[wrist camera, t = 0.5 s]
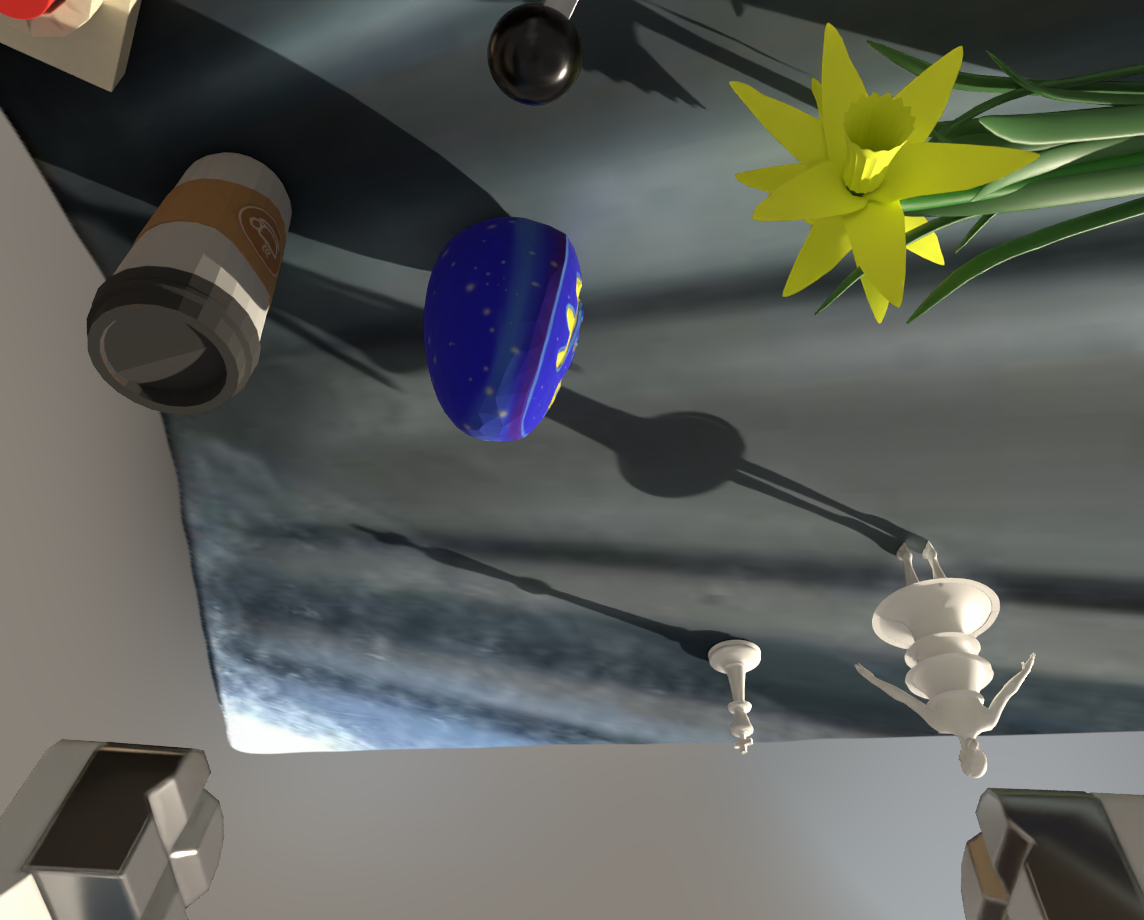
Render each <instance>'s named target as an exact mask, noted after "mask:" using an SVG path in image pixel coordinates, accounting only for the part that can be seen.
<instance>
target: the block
mask: <svg viewBox="0 0 1144 920" xmlns="http://www.w3.org/2000/svg"><path fill="white" fill-rule="evenodd" d="M140 5H141V0H55V1H54V2H53V3H52V4H51V5H50V7H49V8H48V9H47V10H46V11H45V12H44V13H43V14H42V15H40V16H39V17H36V18H33V19H27V20H23V19H15V18H12V17H9V16H6V15H4V14H2V13H0V43H3V44H5V45H7V46H9V47H11V48H14V49H16V50H18V51H20V52H23V53H25V54H27V55H29V56H31V57H34V58H36V59H38V60H40V61H43V62H45V63H47V64H49V65H51V66H54V67H56V68H58V69H60V70H63V71H65V72H67V73H69V74H71V75H74V76H76V77H78V78H80V79H83V80H85V81H87V82H89V83H91V84H94V85H96V86H98V87H100V88H103V89H105V90H107V91H109V92H112V91H113V90H114V88H115V87H116V85H117V84H118V83H119V81H120V80H121V78H122V77H123V76H124V74H125V71H126V67H127V63H128V58H129V54H130V49H131V45H132V40H133V36H134V31H135V27H136V23H137V18H138V14H139V9H140Z"/></svg>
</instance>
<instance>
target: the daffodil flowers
mask: <svg viewBox="0 0 1144 920" xmlns="http://www.w3.org/2000/svg"><path fill="white" fill-rule="evenodd" d="M867 43H869V44H870V45H871V46H872V47H874V48H875V49H876V50H878V51H879V52H880V53H882V54H883V55H885V56H886V57H887V58H889V59H890V60H892V61H893V62H895V63H896V64H898V65H899V66H901V67H903V68H905V69H906V70H908V71H910V72H912V73H914V74H915V75H917V76H918V77H916V78H915V79H914V80H913V81H912V82H910V83H909V84H908V85H907V86H906V87H905V88H903V89H902V90H901V91H900V92H899V93H898V94H897V95H896V96H895V97H893V98H892V96H891V94H890V92H888V93H887V94H885V95H884V96H882V97H880V96H879V95H878V94H877V92H876V91H875V92H874V93H873V94H872V95H871V96H870V97H869V96H868V94H867V91H866V89H865V87H864V85H863V82H862V80H861V78H860V77H859V75H858V73H857V71H856V69H855V67H854V66H853V64H852V62H851V60H850V58H849V56H848V53H847V51H846V48H845V45H844V42H843V40H842V37H841V36H840V35H839V33H838V32H837V30H836V29H835V27H833V26H832V25H831V24H830V23H827V25H826V28H825V36H824V47H823V58H822V85H821V84H820V83H819V82H818V81H817V80H816V79H815V78H812V81H811V86H812V92H813V94H814V97H815V99H816V101H817V106H818V111H819V117H820V120H819V119H817V118H815V117H813V116H811V115H809V114H807V113H804V112H802V111H800V110H798V109H796V108H794V107H792V106H790V105H787V104H785V103H782V102H780V101H778V100H775V99H773V98H770V97H768V96H765V95H763V94H761V93H760V92H758V91H757V90H755V89H754V88H752V87H751V86H749V85H748V84H744V83H741V82H738V81H730V82H729V84H730V85H731V87H732V89H733V90H734V91H735V92H736V94H737V95H738V96H739V97H740V98H741V99H742V101H743V102H744V103H745V104H746V106H747V107H748V108H749V109H750V111H751V112H752V113H753V114H754V115H755V117H756V118H757V119H758V120H759V121H760V122H761V123H762V124H763V125H764V127H765V128H766V129H767V130H768V131H769V132H770V133H771V134H772V136H773V137H775V138H776V139H777V140H778V141H779V142H780V143H781V144H782V145H783V146H784V147H785V148H786V149H787V150H788V151H789V152H790V153H791V154H792V155H793V156H794V157H796V158H797V159H798V160H799V161H800V162H801V163H802V164H789V165H781V166H774V167H767V168H762V169H757V170H752V171H747V172H742V173H738V174H736V175H735V178H736V179H737V180H738V181H740V182H742V183H743V184H745V185H747V186H749V187H753V188H756V189H760V190H763V191H765V192H768V193H770V194H771V195H770V196H768V197H767V198H766V199H765V200H764V201H763V202H761V203H760V204H759V205H758V206H757V207H756V209H755V211H754V212H753V216H752V219H753V220H758V221H791V220H806V222H805V223H808V224H811V230H810V231H811V232H810V233H809V235H808V237H807V239H806V241H805V243H804V245H803V247H802V249H801V251H800V253H799V255H798V257H797V259H796V261H795V263H794V266H793V268H792V270H791V273H790V275H789V278H788V280H787V283H786V285H785V288H784V291H783V297H786V296H790V295H792V294H795V293H797V292H799V291H801V290H802V289H804V288H805V287H807V286H808V285H810V284H811V283H813V282H815V281H816V280H817V279H819V278H820V277H822V276H823V275H824V274H826V273H827V272H829V271H830V270H831V269H833V268H834V267H835V265H836V264H837V263H838V262H839V261H840V260H841V259H842V258H843V257H844V256H845V255H846V254H847V253H848V252H849V251H850V250H851V249H852V251H853V255H854V258H855V262H856V265H857V269H856V270H854V271H853V272H852V273H851V274H850V275H849V276H848V277H847V278H846V279H844V281H843V282H842V283H841V284H840V285H839V286H838V287H837V289H836V290H835V291H834V292H833V293H832V294H831V295H830V297H829V298H828V299H827V300H826V301H825V302H824V304H823V305H822V306H821V307H820V308H819V309H818V311H817V312H816V313H815V315H816V314H818V313H819V312H820V311H822V310H823V309H824V308H826V307H827V306H828V305H829V304H831V303H832V302H833V301H834V300H835V299H836V298H837V297H838V296H840V295H841V294H842V293H843V292H844V291H845V290H846V289H847V288H848V287H849V286H851V285H852V284H853V283H854V282H855V281H857V280H858V279H859V278H861V281H862V284H863V287H864V290H865V293H866V296H867V299H868V301H869V304H870V306H871V309H872V311H873V313H874V316H875V318H876V320H877V321H878V323H879V324H880V323H881V322H882V320H883V318H884V315H885V313H886V310H887V307H888V304H889V302H890V303H892V304H893V305H895V306H896V307H898V308H899V307H900V306H901V303H902V299H903V291H904V282H905V270H906V248H907V249H908V250H910V251H912V252H914V253H916V254H918V255H919V256H921V257H923V258H925V259H928V260H930V261H932V262H935V263H937V264H940V265H944V260H943V256H942V253H941V250H940V246H939V242H938V239H937V236H936V234H935V233H934V232H935V231H937V230H939V229H942V228H945V227H947V226H950V225H952V224H955V223H958V222H961V221H964V220H967V219H971V218H974V217H978V216H982V215H983V216H982V217H981V218H980V220H979V221H978V222H977V223H976V224H975V225H974V226H973V228H972V229H971V230H970V231H969V233H968V234H967V235H966V237H965V238H964V240H963V241H962V243H961V244H960V245H959V247H958V248H957V250H956V251H955V253H956V252H958V251H959V250H960V249H961V248H962V247H963V246H964V245H965V244H966V243H967V242H968V241H969V240H970V239H971V238H972V237H973V236H974V235H975V234H976V233H977V232H978V231H979V230H980V229H981V228H982V227H983V226H984V225H985V224H986V223H987V222H988V221H989V220H990V219H992V218H993V217H994V216H995V215H996V214H997V213H1006V212H1015V211H1024V210H1032V209H1040V208H1047V207H1054V206H1062V205H1068V204H1075V203H1082V202H1089V201H1097V200H1104V199H1111V198H1118V197H1126V196H1133V195H1140V194H1144V82H1140V81H1104V80H1109V79H1115V78H1120V77H1125V76H1130V75H1135V74H1140V73H1144V64H1139V65H1133V66H1128V67H1123V68H1118V69H1113V70H1108V71H1103V72H1097V73H1092V74H1087V75H1082V76H1077V77H1071V78H1065V79H1059V80H1038V79H1025V78H1023V77H1022V76H1021V75H1019V74H1018V73H1016V72H1015V71H1013V70H1012V69H1011V68H1009V67H1008V66H1007V65H1006V64H1004V63H1003V62H1002V61H1001V60H1000V59H998V58H997V57H996V56H994V55H993V54H992V53H990V52H989V51H987V50H985V49H984V50H985V51H986V52H987V53H988V54H989V56H990V57H991V58H992V59H993V60H994V61H995V62H996V63H997V65H998V66H999V67H1000V68H1001V69H1002V70H1003V71H1004V72H1005V73H1006V74H1007V75H1009V76H1010V77H998V76H985V75H976V74H970V73H964V72H960V71H959V70H960V67H961V62H962V57H963V47H962V46H959V47H957V48H955V49H953V50H952V51H951V52H949V53H948V54H946V55H945V56H944V57H942V58H941V59H939V60H938V61H937V62H935V63H934V64H930V63H927V62H925V61H922V60H920V59H917V58H914V57H912V56H909V55H907V54H904V53H902V52H899V51H897V50H894V49H892V48H889V47H887V46H885V45H882V44H879V43H875V42H872V41H868V40H867ZM952 89H959V90H966V91H977V92H992V93H1005V94H1002V95H1000V96H997V97H994V98H992V99H990V100H988V101H986V102H984V103H982V104H980V105H978V106H976V107H974V108H973V109H971V110H969V111H968V112H966V113H965V114H963V115H961V116H960V117H958V118H957V119H955V120H953V121H944V122H938V120H939V119H940V117H941V115H942V114H943V112H944V109H945V106H946V104H947V101H948V99H949V96H950V94H951V91H952ZM1027 95H1041V96H1043V97H1046V98H1050V99H1055V100H1060V101H1068V102H1079V103H1089V104H1098V105H1111V106H1112V107H1102V108H1091V109H1081V110H1071V111H1060V112H1048V113H1036V114H1019V115H990V116H983V117H980V118H974V117H975V116H977V115H979V114H981V113H983V112H985V111H987V110H989V109H991V108H993V107H995V106H997V105H1000V104H1002V103H1005V102H1008V101H1010V100H1013V99H1017V98H1020V97H1023V96H1027ZM972 118H974V119H972ZM928 137H932V138H931V139H930V140H929V141H928V142H925V141H926V140H927V138H928ZM1142 214H1144V197H1142V198H1139V199H1135V200H1132V201H1129V202H1126V203H1122V204H1119V205H1116V206H1113V207H1109V208H1106V209H1103V210H1100V211H1096V212H1093V213H1090V214H1086V215H1083V216H1080V217H1077V218H1073V219H1070V220H1067V221H1064V222H1061V223H1058V224H1055V225H1052V226H1049V227H1046V228H1044V229H1041V230H1038V231H1036V232H1033V233H1031V234H1028V235H1025V236H1022V237H1020V238H1017V239H1014V240H1011V241H1009V242H1006V243H1003V244H1001V245H998V246H996V247H993V248H991V249H989V250H987V251H985V252H982V253H980V254H979V255H977V256H976V257H974V258H973V259H971V260H970V261H968V262H967V263H965V264H964V265H962V266H961V267H959V268H958V269H956V270H955V271H954V272H953V273H952V274H951V275H949V276H948V277H947V278H946V279H945V280H944V281H943V282H942V283H941V284H940V285H939V286H938V287H937V288H936V289H935V290H934V291H933V292H932V293H931V294H930V295H929V296H928V297H927V298H926V299H925V301H924V302H923V303H922V304H921V305H920V306H919V308H918V309H917V310H916V311H915V312H914V314H913V315H912V316H911V317H910V319H909V320H908V321H907V322H906V323H907V324H908V323H910V322H912V321H913V320H915V319H916V318H918V317H919V316H921V315H922V314H924V313H925V312H926V311H927V310H929V309H930V308H931V307H933V306H934V305H935V304H937V303H938V302H939V301H941V300H942V299H943V298H945V297H946V296H948V295H949V294H950V293H952V292H953V291H954V290H956V289H957V288H959V287H960V286H961V285H963V284H964V283H966V282H967V281H969V280H970V279H972V278H974V277H976V276H977V275H979V274H981V273H983V272H985V271H986V270H988V269H990V268H992V267H994V266H995V265H997V264H1000V263H1002V262H1004V261H1006V260H1009V259H1011V258H1013V257H1016V256H1019V255H1021V254H1024V253H1027V252H1030V251H1032V250H1035V249H1038V248H1041V247H1044V246H1046V245H1049V244H1052V243H1054V242H1057V241H1060V240H1062V239H1065V238H1068V237H1071V236H1074V235H1077V234H1080V233H1083V232H1086V231H1089V230H1093V229H1096V228H1099V227H1102V226H1106V225H1109V224H1112V223H1115V222H1119V221H1122V220H1125V219H1129V218H1132V217H1135V216H1138V215H1142ZM940 216H942V217H940ZM924 217H939V218H937V219H934V220H931V221H929V222H928V221H927V220H926V219H925V218H924Z"/></svg>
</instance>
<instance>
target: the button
mask: <svg viewBox="0 0 1144 920" xmlns="http://www.w3.org/2000/svg"><path fill="white" fill-rule="evenodd" d="M54 1H55V0H0V13H2V14H4V15H6V16H9V17H12V18H15V19H23V20H27V19H33V18H36V17H39V16H40V15H42V14H43V13H44V12H45V11H46V10H47V9H48V8H49V7H50V5H51V4H52V3H53V2H54Z"/></svg>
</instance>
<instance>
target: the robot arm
mask: <svg viewBox="0 0 1144 920" xmlns="http://www.w3.org/2000/svg"><path fill="white" fill-rule="evenodd" d="M210 773H211V771H210V768H209V765H208V762H207V759H206V756H205V753H204V751H203V750H198V749H191V748H178V747H166V746H153V745H140V744H128V743H127V744H126V743H115V742H94V741H81V740H65V739H61V740H60V741H59V742H57V743H56V744H54V745H53V746H51V747H50V748H49V749H48V750H47V751H46V752H45V753H44V755H43V756H42V758H41V759H40V760H39V762H38V763H37V765H36V766H35V768H34V769H33V771H32V772H31V774H30V775H29V777H28V778H27V780H26V781H25V782H24V784H23V785H22V787H21V788H20V790H19V791H18V793H17V794H16V796H15V797H14V798H13V800H12V802H11V803H10V804H9V806H8V807H7V809H6V810H5V812H4V813H3V815H2V816H1V817H0V920H188V916H187V913H186V908H187V907H189V906H190V905H191V904H192V903H193V902H195V901H196V900H197V899H199V898H200V897H201V896H202V895H203V894H205V893H206V892H207V891H208V890H209V887H210V885H211V883H212V880H213V877H214V875H215V873H216V870H217V868H218V865H219V860H220V855H221V850H222V845H223V840H224V824H223V814H222V811H221V807H220V803H219V801H218V800H217V799H216V798H215V797H214V796H213V795H211V794H210V793H209V792H208V791H207V790H206V789H204V786H205V783H206V782H207V779H208V778H209V775H210ZM976 816H977V819H978V822H979V825H980V828H981V832H980V833H979V834H978V835H976V836H974V837H973V838H972V839H970V840H969V841H968V842H967V843H966V847H965V852H964V856H963V860H962V864H961V893H962V900H963V907H964V913H965V917H966V920H1144V795H1131V794H1111V793H1086V792H1083V791H1057V790H1030V789H1005V788H987V789H986V790H985V792H984V793H983V794H982V795H981V797H980V800H979V803H978V806H977V809H976Z"/></svg>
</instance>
